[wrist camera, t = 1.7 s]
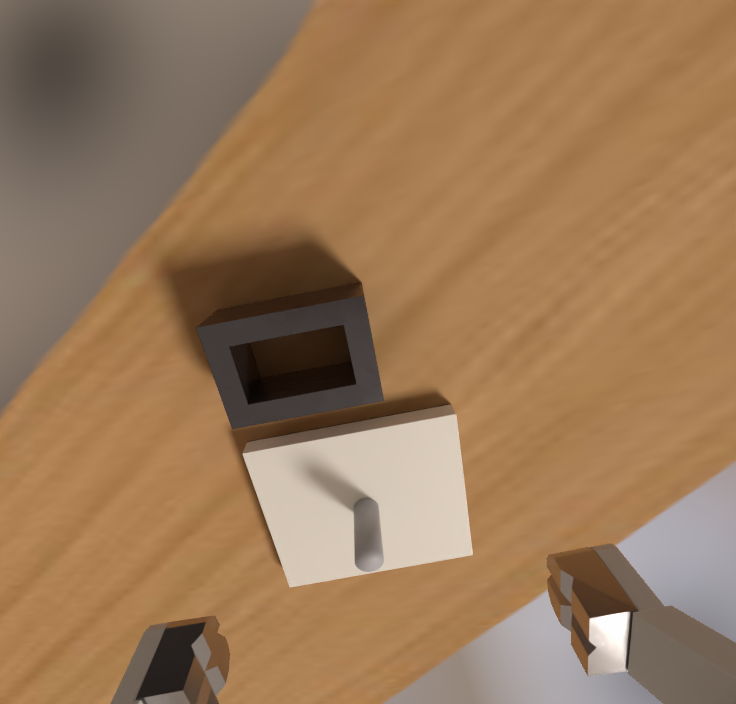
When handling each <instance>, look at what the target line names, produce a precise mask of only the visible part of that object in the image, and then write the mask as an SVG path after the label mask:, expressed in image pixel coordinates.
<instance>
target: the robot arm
mask: <svg viewBox="0 0 736 704" xmlns="http://www.w3.org/2000/svg"><path fill="white" fill-rule="evenodd" d="M547 567H548V569H549V571H550V573H551V576H550V577H549V578H548V580H547V584H548V593H549V597H550V601H551V604H552V606H553V609H554V611H555V614H556V616H557V617H558V620H559V622H560V623H561V625H562V626H564V627H565V628H567V629H568V630H569V631H571V645H572V647H573V649H574V651H575V653H576V654H577V656H578V658H579V660H580V662H581V664H582V666H583V668H584V669H585V672H586V673H587V675H588V676H593V675H600V674H608V673H615V672H622V671H628V674H629V675H630V676H632V677H633V678H634V679H635V680H636V681H637V682H639V683H640V684H641V685H642V686H643V687H645V688H646V689H647V690H648V691H649V692H650V693H651V694H653V695H654V696H655V697H656V698H657V699H658V700H660V701H661V702H662V703H663V704H736V643H735V642H733V641H732V640H730V639H728V638H727V637H725V636H723V635H721V634H720V633H718V632H716V631H714V630H713V629H711V628H709V627H707V626H706V625H704V624H702V623H700V622H699V621H697V620H695V619H694V618H692V617H690V616H688V615H687V614H685V613H683V612H681V611H680V610H678V609H676V608H675V607H673V606H666V607H665V606H664V605H663V604H662V603H661V601H660V600H659V599H658V598H657V596H656V595H655V594H654V593H653V592H652V590H651V589H650V588H649V587H648V585H647V584H646V583H645V582H644V580H643V579H642V578H641V577H640V575H639V574H638V573H637V572H636V570H635V569H634V568H633V567H632V566H631V564H630V563H629V562H628V561H627V559H626V558H625V557H624V556H623V554H622V553H621V552H620V551H619V549H618V548H617V547H616V546H614V545H613V544H605V545H600V546H594V547H590V548H589V547H586V548H581V549H575V550H570V551H565V552H560V553H555V554H550V555H548V557H547ZM219 625H220V624H219V622H218V620H217V619H216V617H215V616H208V617H201V618H194V619H187V620H181V621H174V622H168V623H162V624H156V625H151V626H150V627H149V628H148V629H147V630H146V631H145V632H144V634H143V636H142V638H141V640H140V642H139V644H138V646H137V649H136V651H135V653H134V655H133V657H132V659H131V661H130V663H129V666H128V668H127V670H126V672H125V674H124V676H123V678H122V680H121V682H120V685H119V687H118V689H117V691H116V693H115V695H114V697H113V699H112V701H111V704H219V702H218V700H217V697H216V696H217V695H218V693H219V692H220V691H221V689H222V688H223V687H224V685H225V684H226V680H227V676H228V672H229V661H230V652H229V646H228V643H227V640H226V638H225V637H224V636H222V635H220V634H219V633H217V632H218V629H219Z"/></svg>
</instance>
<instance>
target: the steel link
mask: <svg viewBox="0 0 736 704" xmlns="http://www.w3.org/2000/svg"><path fill="white" fill-rule="evenodd" d="M339 325H344V328H345V333H346V337H347V342H348V347H349V351H350V356H351V362H345V363H340V364H335V365H329V366H324V367H319V368H314V369H308V370H303V371H298V372H292V373H287V374H282V375H277V376H271V377H266V378H261V377H260V374H259V371H258V368H257V364H256V361H255V358H254V355H253V351H252V348H251V345H250V342H256V341H261V340H266V339H271V338H277V337H282V336H287V335H292V334H298V333H303V332H308V331H313V330H318V329H324V328H329V327H334V326H339ZM196 329H197V332H198V335H199V337H200V340H201V343H202V346H203V349H204V351H205V354H206V357H207V360H208V363H209V365H210V368H211V371H212V374H213V377H214V380H215V382H216V385H217V388H218V391H219V394H220V396H221V399H222V402H223V405H224V408H225V410H226V413H227V416H228V419H229V422H230V424H231V427H232V429H235V428H241V427H246V426H252V425H257V424H262V423H268V422H273V421H278V420H284V419H289V418H294V417H300V416H305V415H311V414H316V413H321V412H327V411H332V410H337V409H343V408H348V407H353V406H359V405H364V404H369V403H375V402H380V401H384V398H383V393H382V387H381V382H380V377H379V371H378V366H377V361H376V356H375V350H374V345H373V340H372V334H371V329H370V324H369V319H368V313H367V308H366V303H365V298H364V292H363V287H362V282H361V283H355V284H350V285H345V286H340V287H335V288H329V289H324V290H319V291H314V292H309V293H304V294H298V295H293V296H288V297H283V298H278V299H272V300H267V301H262V302H257V303H252V304H246V305H241V306H236V307H231V308H226V309H221V310H217V311H215V312H214V313H213V314H212V315H211V316H209V317H208V318H207V319H206V320H205V321H203V322H202V323H201V324H200V325H199V326H198V327H196Z"/></svg>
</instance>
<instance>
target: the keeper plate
mask: <svg viewBox="0 0 736 704" xmlns="http://www.w3.org/2000/svg"><path fill="white" fill-rule="evenodd" d="M242 454H243V457H244V460H245V463H246V465H247V468H248V471H249V474H250V477H251V479H252V482H253V485H254V488H255V491H256V493H257V496H258V499H259V502H260V505H261V508H262V510H263V513H264V516H265V519H266V522H267V524H268V527H269V530H270V533H271V536H272V539H273V541H274V544H275V547H276V550H277V553H278V555H279V558H280V561H281V564H282V567H283V570H284V572H285V575H286V578H287V581H288V584H289V586H290V587H295V586H301V585H307V584H312V583H318V582H323V581H329V580H335V579H340V578H346V577H352V576H357V575H363V574H368V573H374V572H380V571H385V570H391V569H397V568H402V567H408V566H413V565H419V564H425V563H430V562H436V561H441V560H447V559H453V558H458V557H464V556H470V555H473V552H472V543H471V535H470V526H469V518H468V509H467V501H466V492H465V484H464V475H463V467H462V458H461V450H460V441H459V433H458V424H457V416H456V413H455V411H454V409H453V407H452V405H451V404H450V405H445V406H439V407H434V408H429V409H423V410H418V411H412V412H407V413H402V414H396V415H391V416H385V417H380V418H375V419H369V420H364V421H359V422H353V423H348V424H342V425H337V426H332V427H326V428H321V429H315V430H310V431H305V432H299V433H294V434H289V435H283V436H278V437H272V438H267V439H262V440H256V441H251V442H247V444H246V446H245V449H244V451H243V453H242Z"/></svg>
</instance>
